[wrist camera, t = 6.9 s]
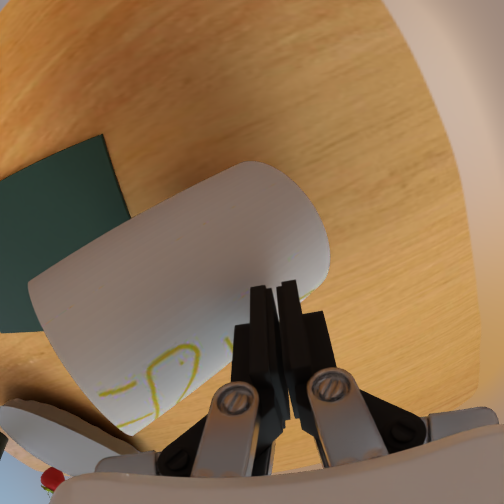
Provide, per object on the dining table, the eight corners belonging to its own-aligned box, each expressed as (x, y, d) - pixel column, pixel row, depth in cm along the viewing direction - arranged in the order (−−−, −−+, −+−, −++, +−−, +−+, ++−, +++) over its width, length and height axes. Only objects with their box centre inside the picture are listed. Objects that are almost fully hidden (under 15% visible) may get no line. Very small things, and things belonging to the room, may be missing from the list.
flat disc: (108, 475, 49) (104, 492, 46) (-7, 404, 39) (-16, 422, 35) (193, 459, 40) (190, 484, 36) (27, 359, 30) (12, 386, 26)
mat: (-60, 218, 20) (-62, 219, 20) (102, 133, 18) (100, 134, 17) (2, 331, 28) (1, 333, 27) (172, 316, 25) (171, 319, 25)
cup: (281, 303, 21) (132, 417, 15) (209, 205, 22) (53, 299, 16) (359, 268, 14) (136, 458, 8) (254, 129, 14) (6, 256, 9)
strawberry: (75, 471, 51) (66, 505, 43) (60, 469, 53) (51, 501, 45) (56, 459, 49) (45, 494, 40) (42, 458, 51) (31, 490, 42)
